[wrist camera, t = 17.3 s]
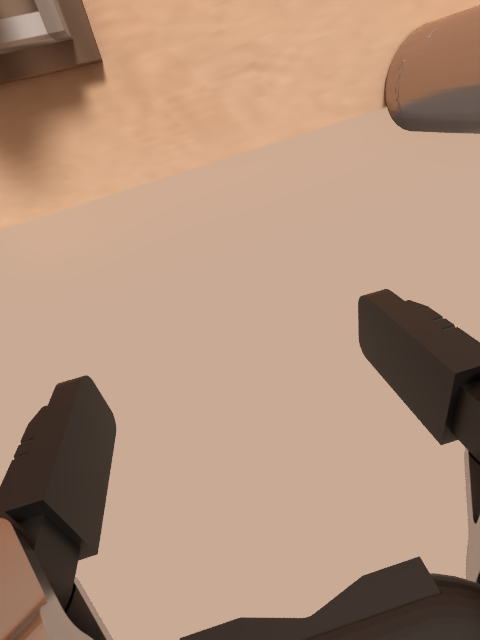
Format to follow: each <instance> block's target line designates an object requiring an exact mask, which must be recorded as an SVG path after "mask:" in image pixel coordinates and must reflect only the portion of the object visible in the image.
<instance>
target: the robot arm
mask: <svg viewBox="0 0 480 640" xmlns="http://www.w3.org/2000/svg"><path fill="white" fill-rule="evenodd" d="M385 92H386V103H387V108H388V111H389V113H390V116H391V118H392V119H393V120H394V122H395V123H396V124H397V125H398V126H400V127H401V128H403V129H405V130H409V131H423V132H445V133H474V134H480V5H478V6H475V7H473V8H470V9H467V10H464V11H461V12H458V13H455V14H452V15H450V16H447V17H444V18H441V19H439V20H436V21H433V22H430V23H428V24H426V25H424V26H422V27H420V28H418V29H417V30H415V31H414V32H413V33H412V34H410V35H409V36H408V38H407V39H406V40H405V41H404V42H403V43H402V45H401V46H400V48H399V49H398V51H397V53H396V54H395V56H394V58H393V61H392V63H391V65H390V68H389V72H388V76H387V81H386V89H385ZM358 313H359V316H358V319H359V343H360V347H361V349H362V352H363V354H364V355H365V357H366V358H367V360H368V361H369V362H370V363H371V364H372V365H373V367H374V368H375V369H376V370H377V371H378V372H379V374H380V375H381V376H382V377H383V378H384V379H385V381H386V382H387V383H388V384H389V385H390V386H391V388H393V390H394V391H395V392H396V393H397V394H398V396H399V397H400V398H401V399H402V400H403V402H404V403H405V404H406V405H407V406H408V407H409V408H410V410H411V411H412V412H413V413H414V414H415V415H416V416H417V418H418V419H419V420H420V421H421V422H422V424H423V425H424V426H425V427H426V428H427V429H428V431H429V432H430V433H431V434H432V435H433V436H434V438H435V439H436V440H437V441H438V442H439V443H440V445H443V444H446V443H449V442H452V441H455V440H459V441H460V442H461V443H462V444H463V445H464V446H465V447H466V449H465V453H464V460H465V477H466V493H467V511H468V528H469V536H468V538H469V539H468V547H467V557H466V579H462V578H459V577H455V576H448V575H441V574H430V573H429V572H428V570H427V568H426V567H425V565H424V563H423V562H422V560H421V558H420V557H417V558H414V559H411V560H408V561H405V562H402V563H399V564H396V565H393V566H390V567H387V568H384V569H381V570H379V571H375V572H373V573H370V574H367V575H364V576H362V577H361V578H359V579H358V580H357V581H356V582H354V583H353V584H352V585H350V586H349V587H348V588H347V589H345V590H344V591H343V592H341V593H340V594H339V595H338V596H336V597H335V598H334V599H333V600H331V601H330V602H329V603H328V604H326V605H325V606H324V607H322V608H321V609H320V610H319V611H317V612H316V613H315V614H313V615H312V616H310V617H307V618H238V619H235V620H233V621H229V622H226V623H223V624H221V625H218V626H215V627H212V628H209V629H206V630H203V631H200V632H197V633H194V634H191V635H189V636H186V637H183V638H180V640H480V342H478V341H477V340H475V339H474V338H472V337H471V336H469V335H468V334H467V333H465V332H464V331H462V330H461V329H460V328H458V327H457V328H455V326H454V324H452V323H451V322H449V321H448V320H447V319H443V318H442V316H441V315H439V314H438V313H436V312H435V311H434V310H432V309H431V308H429V307H428V306H425V305H422V304H419V303H416V302H413V301H410V300H408V301H404V300H402V299H401V298H400V297H398V296H397V295H396V294H394V293H393V292H392V291H390V290H388V289H384V290H381V291H378V292H374V293H370V294H367V295H364V296H361V297H360V299H359V302H358ZM115 436H116V423H115V419H114V416H113V413H112V411H111V409H110V408H109V406H108V405H107V403H106V401H105V400H104V398H103V397H102V395H101V393H100V392H99V390H98V388H97V387H96V385H95V384H94V382H93V380H92V379H91V378H90V377H89V376H82V377H79V378H76V379H72V380H68V381H65V382H62V383H59V384H57V385H56V387H55V389H54V392H53V394H52V396H51V399H50V401H49V404H48V406H44V407H42V408H41V410H40V411H39V412H38V413H37V414H36V415H35V417H34V418H33V419H32V420H31V422H30V423H29V424H28V426H27V428H26V430H25V433H24V435H23V437H22V439H21V445H19V446H18V448H17V451H16V453H15V455H14V458H15V459H14V460H12V462H11V464H10V466H9V468H8V471H7V473H6V475H5V477H4V480H3V482H2V484H1V486H0V640H113V639H112V637H111V635H110V634H109V632H108V630H107V628H106V627H105V625H104V624H103V622H102V620H101V618H100V616H99V615H98V613H97V611H96V609H95V608H94V606H93V604H92V602H91V601H90V599H89V597H88V596H87V594H86V592H85V590H84V589H83V587H82V585H81V584H80V582H79V580H78V579H77V578H76V577H75V574H76V568H77V563H78V560H81V559H84V558H87V557H90V556H93V555H96V554H98V547H99V541H100V535H101V528H102V521H103V515H104V508H105V502H106V495H107V489H108V482H109V475H110V469H111V462H112V456H113V449H114V443H115Z"/></svg>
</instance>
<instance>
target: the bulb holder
mask: <svg viewBox="0 0 480 640" xmlns="http://www.w3.org/2000/svg"><path fill="white" fill-rule="evenodd" d="M98 62H103V61H102V58H101V55H100V52H99V49H98V47H97V44H96V41H95V38H94V35H93V32H92V29H91V26H90V23H89V20H88V17H87V14H86V11H85V8H84V5H83V2H82V0H0V84H2V83H7V82H11V81H16V80H20V79H25V78H29V77H34V76H39V75H43V74H48V73H52V72H57V71H61V70H66V69H71V68H75V67H80V66H84V65H89V64H93V63H98Z"/></svg>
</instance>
